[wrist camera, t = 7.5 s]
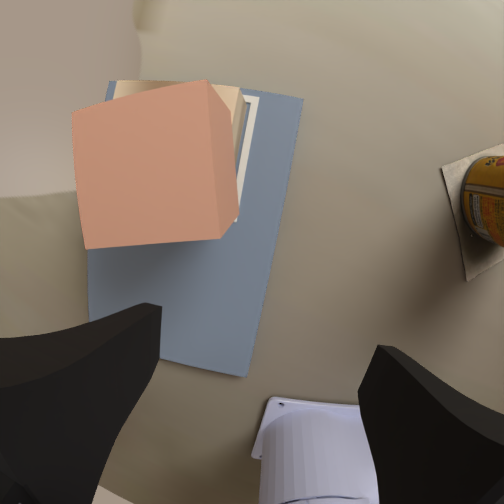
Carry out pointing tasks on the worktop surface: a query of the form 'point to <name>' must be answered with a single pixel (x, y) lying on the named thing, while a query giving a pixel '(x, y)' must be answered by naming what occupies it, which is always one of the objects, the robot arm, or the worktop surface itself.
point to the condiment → (478, 207)
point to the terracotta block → (155, 167)
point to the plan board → (211, 254)
